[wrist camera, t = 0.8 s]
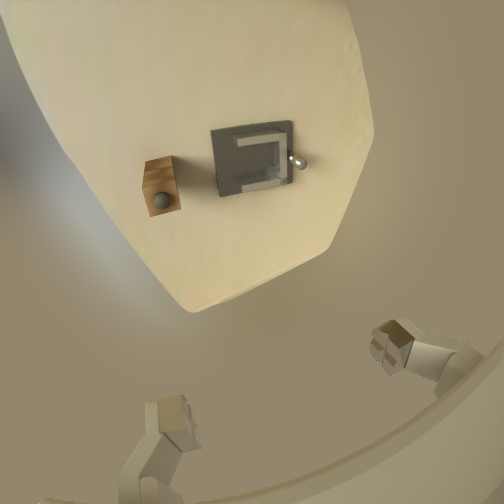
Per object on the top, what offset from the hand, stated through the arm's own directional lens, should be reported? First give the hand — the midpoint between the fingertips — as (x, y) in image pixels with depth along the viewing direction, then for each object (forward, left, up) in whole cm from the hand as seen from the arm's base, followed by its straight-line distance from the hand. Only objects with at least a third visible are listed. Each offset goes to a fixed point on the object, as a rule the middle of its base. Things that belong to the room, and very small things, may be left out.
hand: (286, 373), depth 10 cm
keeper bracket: (-2, +16, -47) cm, 49 cm away
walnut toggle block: (+9, +1, -47) cm, 48 cm away
